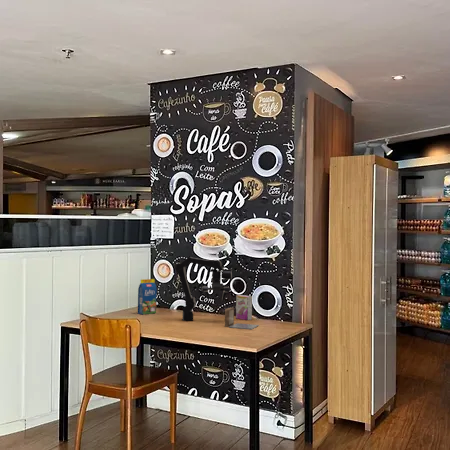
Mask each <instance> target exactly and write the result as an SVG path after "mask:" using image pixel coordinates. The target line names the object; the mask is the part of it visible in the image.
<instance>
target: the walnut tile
mask: <svg viewBox="0 0 450 450" xmlns="http://www.w3.org/2000/svg"><path fill="white" fill-rule="evenodd" d="M234 320H235V307H229V308H225V310H224V327H225V328H229V326H232V325H234V324H235V321H234Z"/></svg>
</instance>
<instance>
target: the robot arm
mask: <svg viewBox="0 0 450 450" xmlns="http://www.w3.org/2000/svg"><path fill="white" fill-rule="evenodd" d="M190 264H195V265H200V266H207V267H210V268H211V269H210V270H209V273H212V274H211V287H209V286H208V285H207V286H206V285H205V286H202V287H201V291H202V292H203V293H205V295H206V297H207V302H208V303H210V297H209V296H210V294H209V291H214V292H215V291H217V292H220V291H221V292H222V298H221V303H224V299H225V297H226V294H228V293H230V292H231V288H230V286H224V283H223V282H221V278H222V279H223V280H232V279H233V273H232V269H231V268H230V269H225V268H224V267H223V266H222V265H223V264H222V262H221V260H219V259H211V260H210V259H203V258H199V257H198V258H197V257H193V256H189V257H187V258H186V259H185V260H183V261H182V262H178V263H177V264H175V266H174V267H175V268H174V269H175V271H176V273H177V275H178V276H179V279H180V283H181V287H182V290H183V294H184V298H185V301H184V303H185V306H184V307H183V308H182V319H181V320H182V322H183V321H184V322H193V321H194V313H193V311H194V310H193V309H194V308H196V304H197V301H196V298H195V296H194V297H193V295H192V293H191V289H190V287H189V283H188V280H187V279H188V278H187V276H186V275H187V274H186V270H187V269H186V268H187V267H188V266H189V265H190Z"/></svg>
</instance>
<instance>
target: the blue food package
mask: <svg viewBox="0 0 450 450" xmlns="http://www.w3.org/2000/svg"><path fill="white" fill-rule="evenodd" d="M137 290H138V291H137V293H138V294H137V314H138V315H153V314H157V295H158V294H157V293H158V291H157V285H156V282H155V278H149V279H148V278H147V279H142V278H141V279H140V283H139V284H138V289H137Z"/></svg>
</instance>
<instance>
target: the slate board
mask: <svg viewBox="0 0 450 450" xmlns="http://www.w3.org/2000/svg"><path fill="white" fill-rule="evenodd" d="M257 326H258V327H259V326H260V325H259V324H251V323H249V324H248V323H234V325H232V326H229V327H228V328H230V329H240V330H241V329H242V330H253V329H256V328H258V327H257Z"/></svg>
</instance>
